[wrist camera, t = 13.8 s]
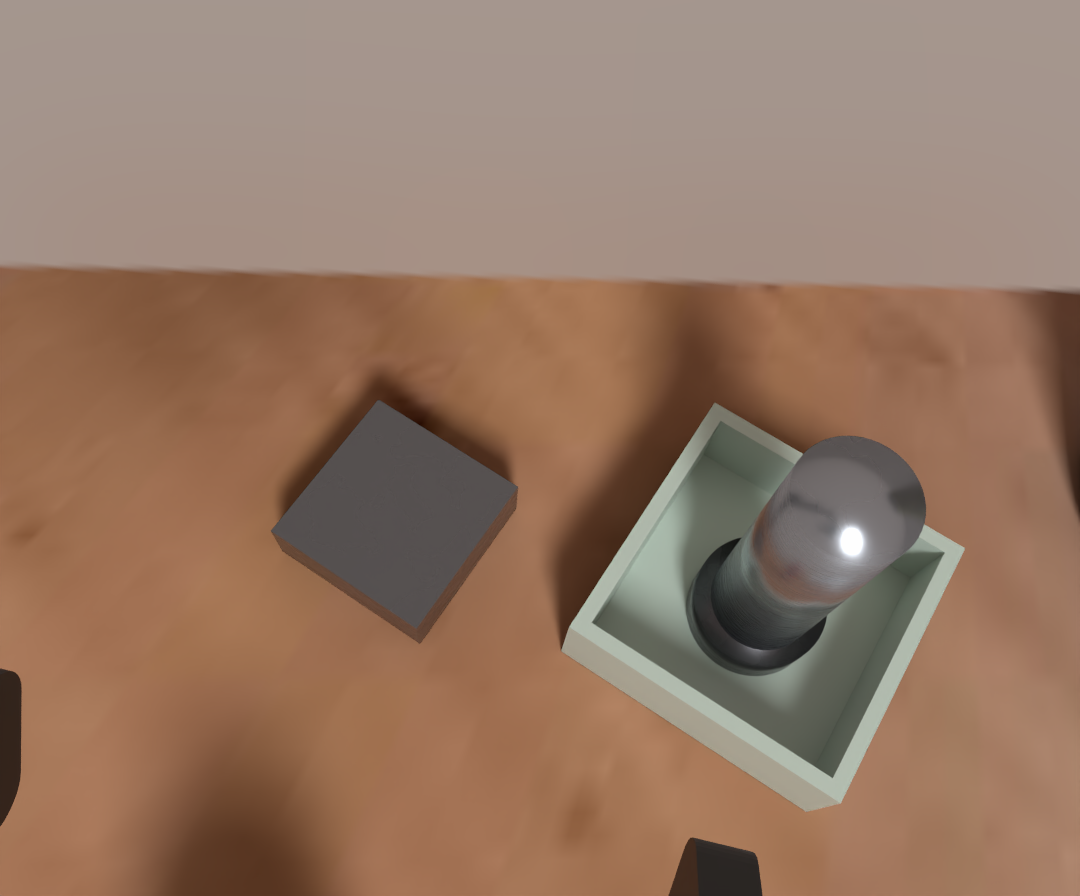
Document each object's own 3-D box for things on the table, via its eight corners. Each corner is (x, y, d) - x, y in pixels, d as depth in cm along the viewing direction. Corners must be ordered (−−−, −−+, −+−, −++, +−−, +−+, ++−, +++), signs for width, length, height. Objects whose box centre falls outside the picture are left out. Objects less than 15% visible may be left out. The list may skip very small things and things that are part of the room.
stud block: (282, 550, 41) (271, 531, 39) (383, 425, 44) (378, 399, 42) (420, 643, 40) (416, 628, 38) (516, 508, 43) (518, 486, 41)
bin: (561, 650, 40) (569, 627, 37) (695, 442, 45) (714, 402, 41) (806, 812, 38) (840, 803, 35) (923, 577, 43) (965, 548, 39)
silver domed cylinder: (676, 658, 40) (756, 560, 28) (697, 538, 42) (781, 400, 30) (803, 690, 40) (940, 605, 28) (819, 568, 42) (952, 440, 30)
